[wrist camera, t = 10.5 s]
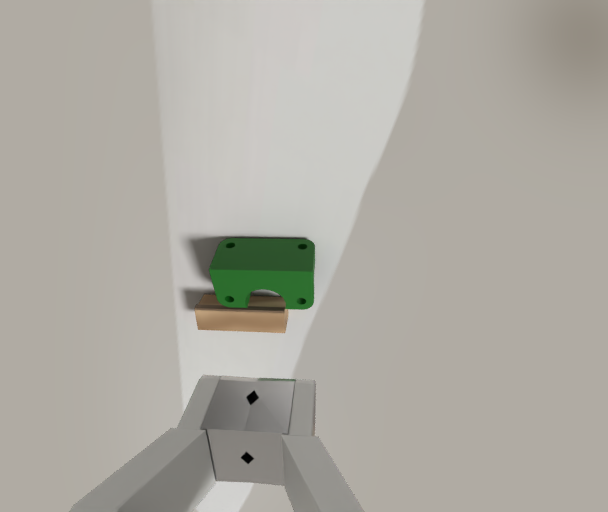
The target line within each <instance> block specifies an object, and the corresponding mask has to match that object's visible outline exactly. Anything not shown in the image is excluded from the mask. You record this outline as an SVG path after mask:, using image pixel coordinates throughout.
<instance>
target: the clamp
mask: <svg viewBox="0 0 608 512" xmlns="http://www.w3.org/2000/svg"><path fill="white" fill-rule="evenodd" d="M314 267H315V245H314V243H313V242H312V241H310V240H307V239H261V238H229V239H225V240H223V241H222V242H221V243H220V244H219V246H218V248H217V250H216V253H215V255H214V258H213V260H212V263H211V265H210V268H209V272H210V276H211V279H212V283H213V286H214V290H215V293H216V297H217V300H218V302H219V303H220V304H222V305H223V306H226V307H236V308H247V307H248V303H249V299H250V295H251V292H252V291H255V290H259V289H266V290H271V291H274V292H276V293H278V294H279V295H281V296H282V297H283V299H284V300H285V303H286V306H285V309H308V308H310V307H311V306H312V305H313V303H314Z"/></svg>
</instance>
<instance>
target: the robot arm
mask: <svg viewBox="0 0 608 512" xmlns="http://www.w3.org/2000/svg"><path fill="white" fill-rule="evenodd" d="M315 406H316V382H315V380H299V379H273V378H247V377H233V376H214V375H203V376H202V377H201V378H200V379H199V381H198V383H197V385H196V388H195V390H194V392H193V394H192V396H191V398H190V401H189V403H188V405H187V407H186V409H185V412H184V414H183V416H182V418H181V420H180V422H179V425H178V427H177V428H170V429H169V430H168V431H167V432H165V433H164V434H163V435H161V436H160V437H159V438H158V439H156V440H155V441H154V442H153V443H151V444H150V445H149V446H148V447H147V448H145V449H144V450H143V451H141V452H140V453H139V454H137V455H136V456H135V457H134V458H132V459H131V460H130V461H129V462H127V463H126V464H125V465H124V466H122V467H121V468H120V469H119V470H117V471H116V472H115V473H113V474H112V475H111V476H110V477H108V478H107V479H106V480H105V481H103V482H102V483H101V484H100V485H98V486H97V487H96V488H95V489H93V490H92V491H91V492H90V493H88V494H87V495H86V496H84V497H83V498H82V499H81V500H79V501H78V502H77V503H76V504H74V505H73V507H72V508H71V510H70V511H69V512H193V510H194V509H195V508H196V507H197V506H198V505H199V503H200V502H201V501H202V500H203V498H204V497H205V496H206V495H207V494H208V492H209V491H210V490H211V489H212V488H213V486H214V485H215V484H216V481H228V482H252V483H262V484H272V485H282V486H285V489H286V492H287V495H288V497H289V500H290V502H291V505H292V507H293V510H294V512H364V510H363V509H362V507H361V505H360V504H359V502H358V500H357V499H356V497H355V496H354V494H353V492H352V491H351V489H350V487H349V486H348V484H347V482H346V481H345V479H344V477H343V476H342V474H341V473H340V471H339V469H338V468H337V466H336V464H335V463H334V461H333V460H332V458H331V456H330V455H329V453H328V451H327V450H326V448H325V447H324V445H323V443H322V442H321V440H320V438H319V437H317V436H315Z"/></svg>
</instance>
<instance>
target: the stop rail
mask: <svg viewBox="0 0 608 512" xmlns="http://www.w3.org/2000/svg"><path fill="white" fill-rule="evenodd" d="M285 306H286V303H285V300H284V299H283V297H270V296H250V299H249V303H248V307H247V308H236V307H226V306H223V305H222V304H220V303H219V302H218V300H217V297H216V295H207V294H204V295H203V297H202V299H201V300H200V302H199V304H197V305H196V306H195V308H194V309H195V315H196V320H197V326H198V330H220V331H246V332H271V333H285V331H286V326H287V320H288V309H285Z"/></svg>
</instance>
